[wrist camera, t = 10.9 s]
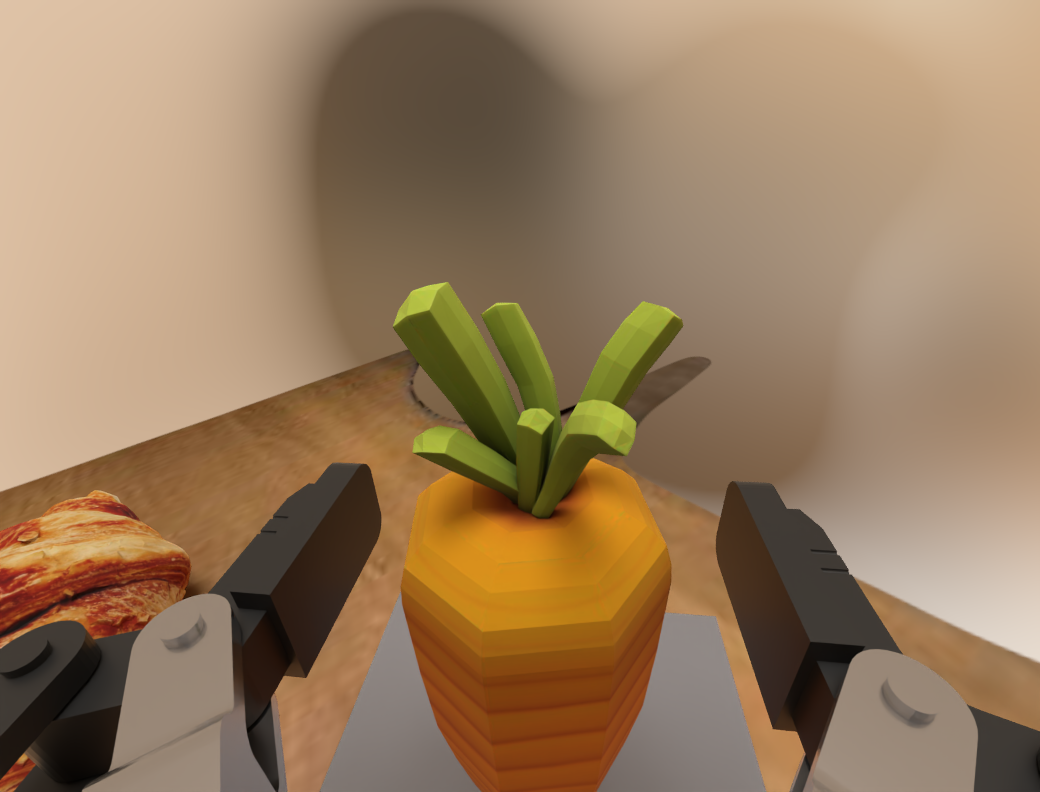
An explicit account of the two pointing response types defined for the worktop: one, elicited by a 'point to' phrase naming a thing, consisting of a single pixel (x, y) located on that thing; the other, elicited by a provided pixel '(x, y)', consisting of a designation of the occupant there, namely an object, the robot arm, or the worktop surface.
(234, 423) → the worktop surface
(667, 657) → the base block
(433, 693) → the carrot
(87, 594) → the croissant
